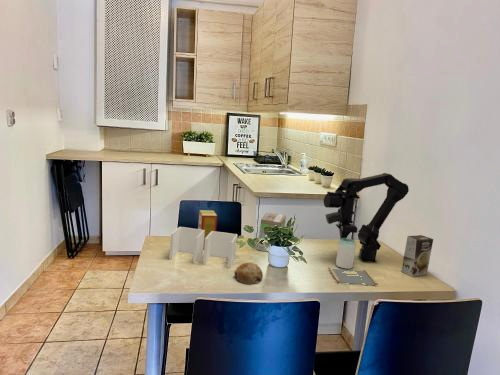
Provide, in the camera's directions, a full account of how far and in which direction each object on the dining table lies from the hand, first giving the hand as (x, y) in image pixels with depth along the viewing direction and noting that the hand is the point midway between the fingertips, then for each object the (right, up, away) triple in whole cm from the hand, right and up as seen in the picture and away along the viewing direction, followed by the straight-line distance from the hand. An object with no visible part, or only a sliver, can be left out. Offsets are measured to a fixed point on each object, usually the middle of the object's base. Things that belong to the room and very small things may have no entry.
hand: (341, 242), depth 179 cm
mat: (0, -12, -17) cm, 21 cm away
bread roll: (-42, -10, -28) cm, 51 cm away
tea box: (-31, -4, +11) cm, 33 cm away
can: (0, -10, -6) cm, 11 cm away
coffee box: (+29, -13, -6) cm, 33 cm away
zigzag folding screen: (-60, -6, -12) cm, 61 cm away
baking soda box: (-61, -3, +3) cm, 61 cm away
